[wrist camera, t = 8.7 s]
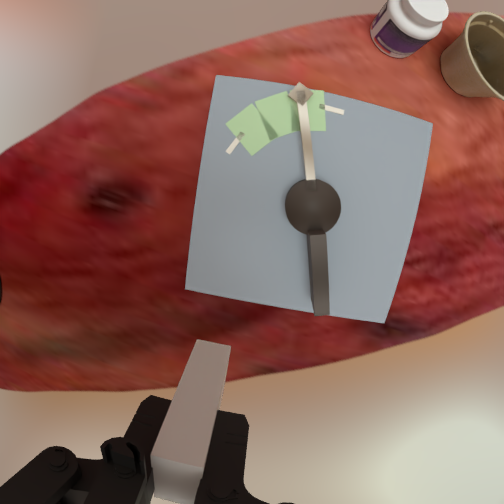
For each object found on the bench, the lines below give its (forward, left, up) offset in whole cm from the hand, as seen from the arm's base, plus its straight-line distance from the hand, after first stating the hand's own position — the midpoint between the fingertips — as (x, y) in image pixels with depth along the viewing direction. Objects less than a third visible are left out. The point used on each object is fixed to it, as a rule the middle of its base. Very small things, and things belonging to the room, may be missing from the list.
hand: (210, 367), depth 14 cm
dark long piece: (+5, +6, -19) cm, 21 cm away
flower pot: (+20, +25, -21) cm, 38 cm away
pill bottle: (+11, +26, -21) cm, 35 cm away
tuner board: (+5, +6, -21) cm, 22 cm away
